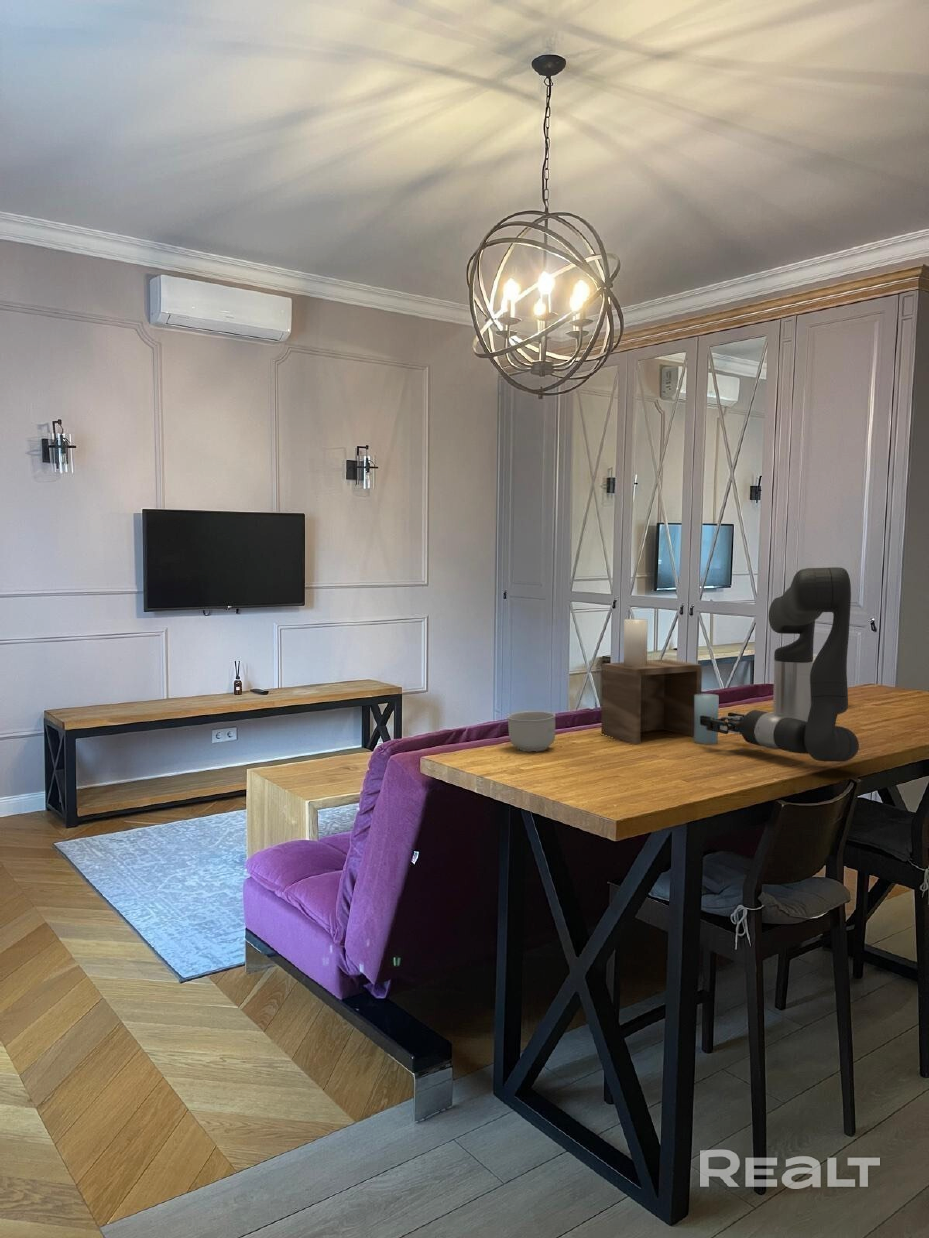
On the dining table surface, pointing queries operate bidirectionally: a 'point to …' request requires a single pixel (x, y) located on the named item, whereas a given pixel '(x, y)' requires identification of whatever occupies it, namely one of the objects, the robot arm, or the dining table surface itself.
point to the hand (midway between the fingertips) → (715, 718)
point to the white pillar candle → (635, 642)
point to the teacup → (531, 730)
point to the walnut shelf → (649, 698)
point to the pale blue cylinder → (706, 707)
